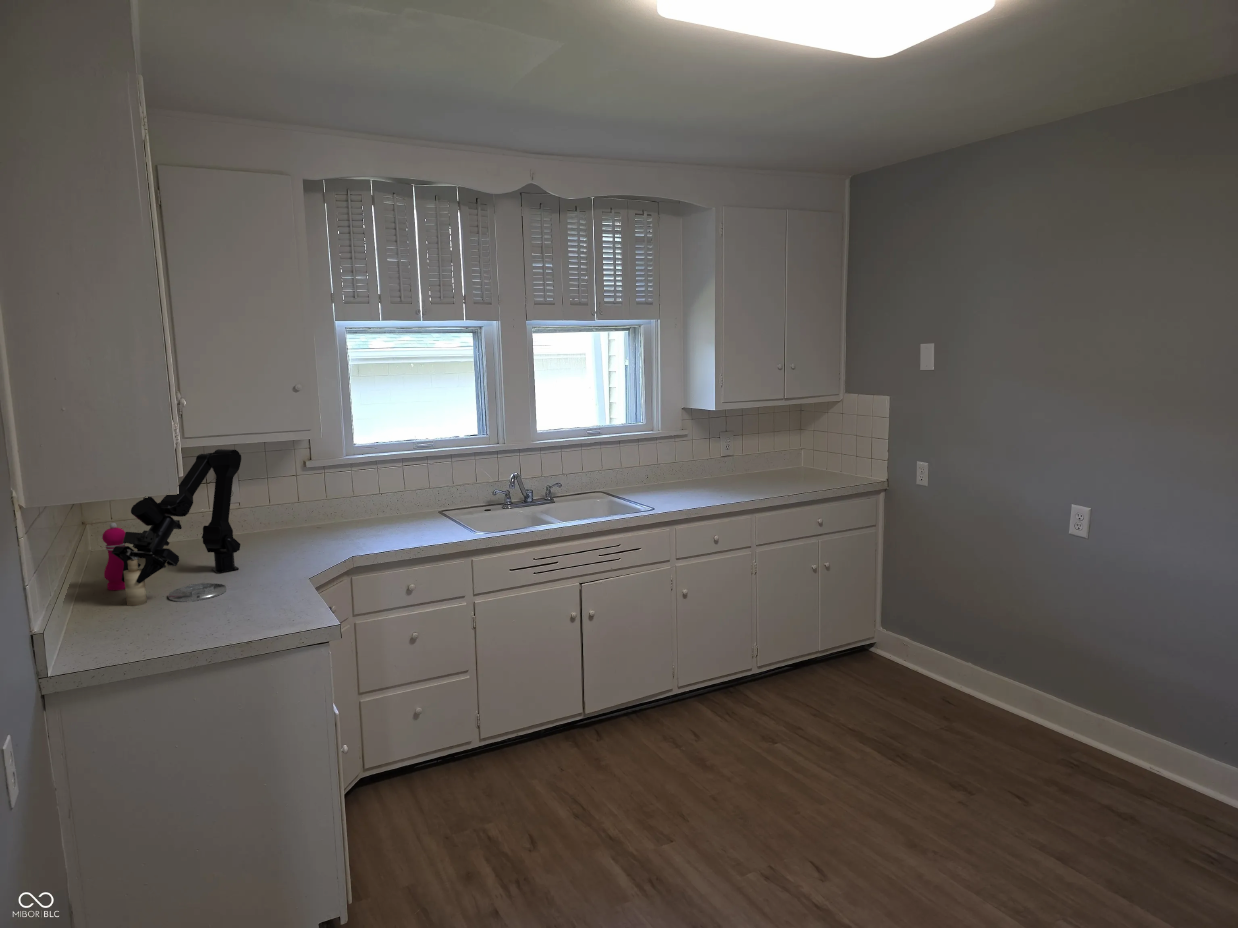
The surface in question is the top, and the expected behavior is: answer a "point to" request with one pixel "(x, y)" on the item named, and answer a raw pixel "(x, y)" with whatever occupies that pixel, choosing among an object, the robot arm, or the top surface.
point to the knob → (134, 584)
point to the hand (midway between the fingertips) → (130, 581)
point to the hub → (197, 592)
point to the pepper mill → (114, 557)
